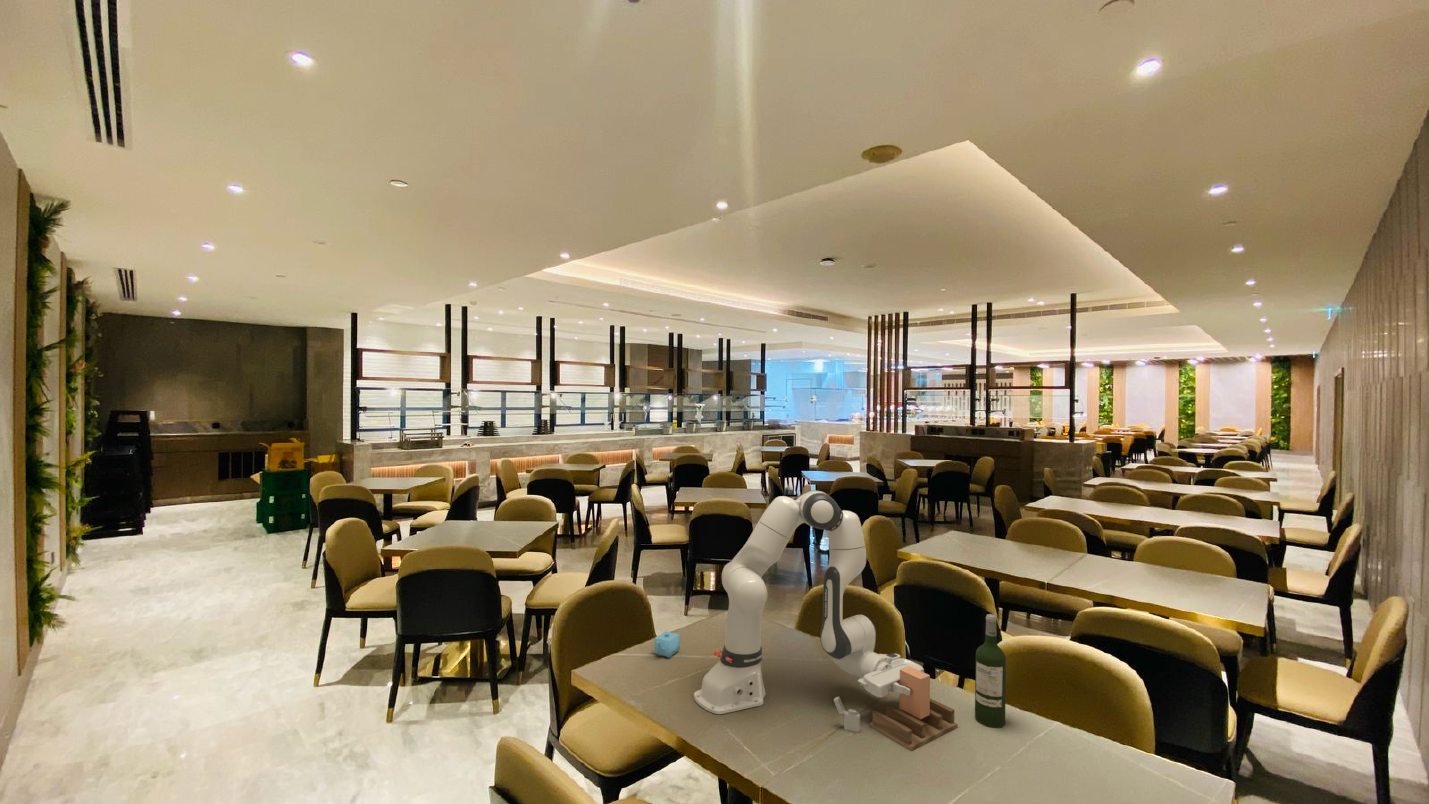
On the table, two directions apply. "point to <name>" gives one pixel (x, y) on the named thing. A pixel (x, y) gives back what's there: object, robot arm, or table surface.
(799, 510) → the robot arm
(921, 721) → the rack
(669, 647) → the light blue toy brick
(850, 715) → the lighter
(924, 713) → the salmon rectangular prism
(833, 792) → the table surface
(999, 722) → the wine bottle
